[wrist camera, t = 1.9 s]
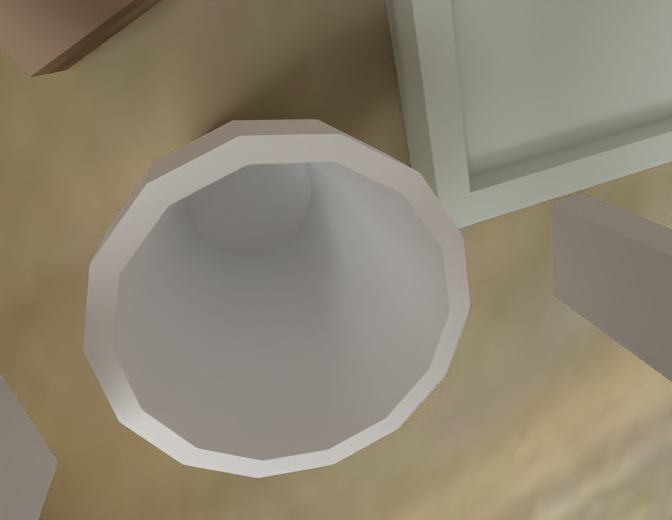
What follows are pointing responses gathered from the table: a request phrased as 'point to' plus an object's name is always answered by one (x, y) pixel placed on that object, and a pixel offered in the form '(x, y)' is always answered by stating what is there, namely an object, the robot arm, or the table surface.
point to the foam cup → (274, 298)
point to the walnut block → (61, 29)
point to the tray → (531, 96)
